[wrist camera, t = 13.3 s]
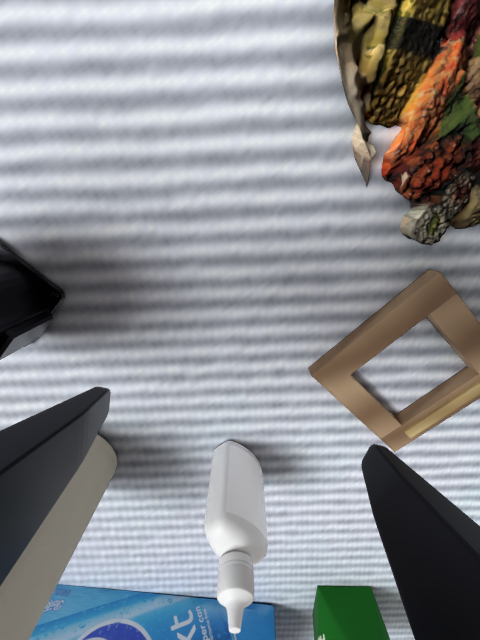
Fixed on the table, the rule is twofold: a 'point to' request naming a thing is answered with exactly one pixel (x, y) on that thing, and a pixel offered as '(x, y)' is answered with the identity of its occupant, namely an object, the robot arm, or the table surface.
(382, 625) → the milk carton
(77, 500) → the travel mug
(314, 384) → the table surface
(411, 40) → the food
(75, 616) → the soda box
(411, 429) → the slot plate
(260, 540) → the eye dropper bottle
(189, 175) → the table surface
